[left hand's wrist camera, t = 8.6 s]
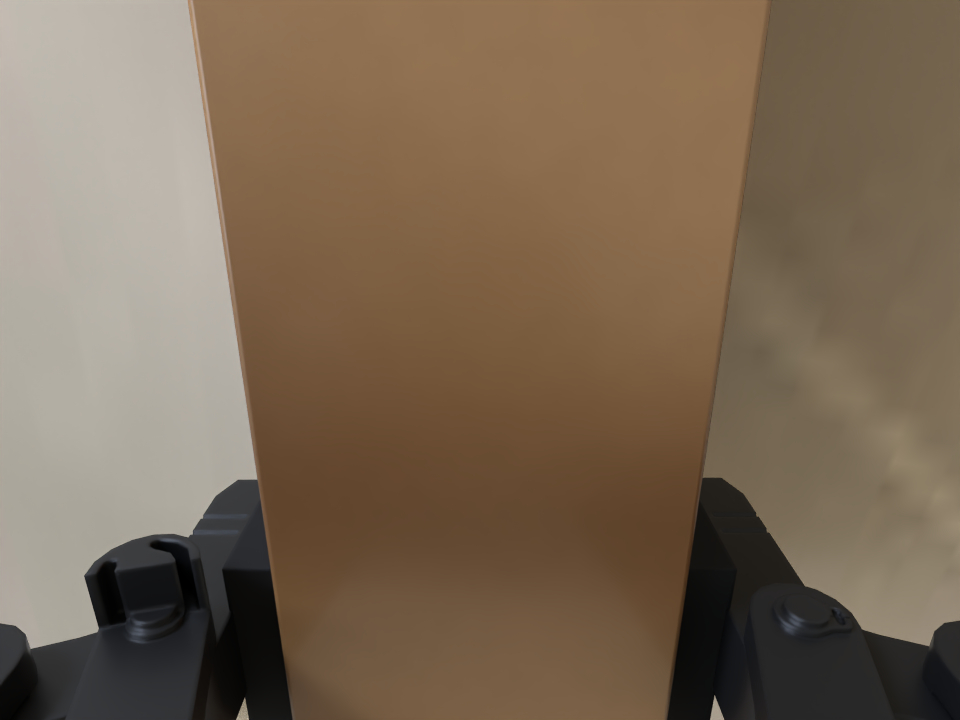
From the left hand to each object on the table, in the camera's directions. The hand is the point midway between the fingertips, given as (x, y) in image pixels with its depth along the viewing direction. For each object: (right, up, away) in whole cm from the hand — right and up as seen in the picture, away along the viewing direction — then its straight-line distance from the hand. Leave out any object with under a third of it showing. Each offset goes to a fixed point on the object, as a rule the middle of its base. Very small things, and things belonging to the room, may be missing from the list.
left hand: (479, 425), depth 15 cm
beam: (0, +26, -10) cm, 28 cm away
